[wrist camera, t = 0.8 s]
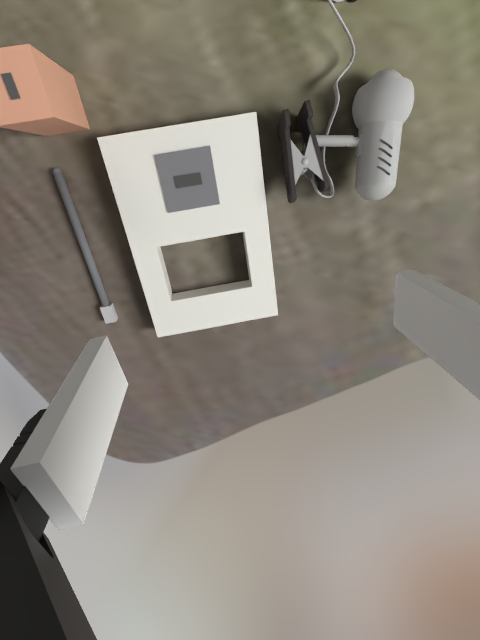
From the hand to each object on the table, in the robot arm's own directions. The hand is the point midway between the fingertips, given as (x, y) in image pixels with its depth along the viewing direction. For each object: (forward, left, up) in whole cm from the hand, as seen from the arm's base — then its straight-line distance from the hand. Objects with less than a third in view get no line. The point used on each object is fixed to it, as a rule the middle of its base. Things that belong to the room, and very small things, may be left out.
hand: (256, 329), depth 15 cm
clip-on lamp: (-11, +13, -23) cm, 28 cm away
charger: (-13, -12, -23) cm, 29 cm away
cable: (-1, -14, -23) cm, 27 cm away
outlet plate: (-1, -2, -23) cm, 23 cm away
